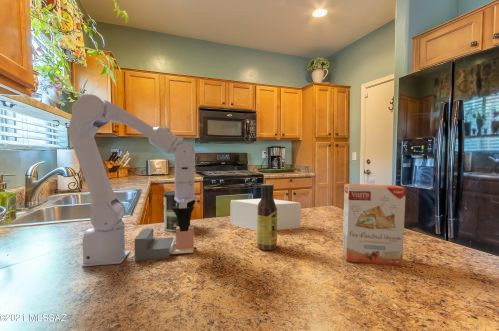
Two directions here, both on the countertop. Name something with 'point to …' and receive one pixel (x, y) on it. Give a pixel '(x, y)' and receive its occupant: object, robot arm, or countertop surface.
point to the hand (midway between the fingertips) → (185, 226)
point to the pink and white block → (184, 241)
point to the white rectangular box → (247, 213)
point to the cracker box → (374, 223)
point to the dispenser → (152, 246)
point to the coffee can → (170, 212)
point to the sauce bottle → (267, 219)
